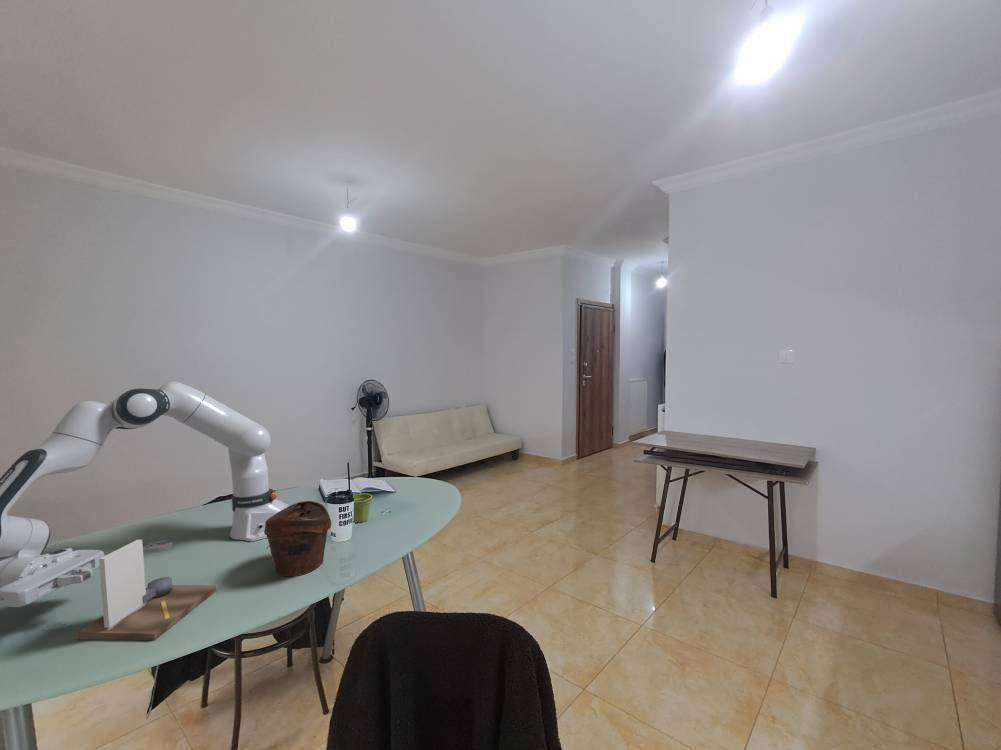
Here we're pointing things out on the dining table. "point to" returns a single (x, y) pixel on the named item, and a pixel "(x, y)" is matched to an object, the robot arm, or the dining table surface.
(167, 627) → the dial board
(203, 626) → the dining table surface
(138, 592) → the white upright panel
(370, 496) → the plant pot
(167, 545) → the adjustable wrench
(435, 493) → the dining table surface
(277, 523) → the case
